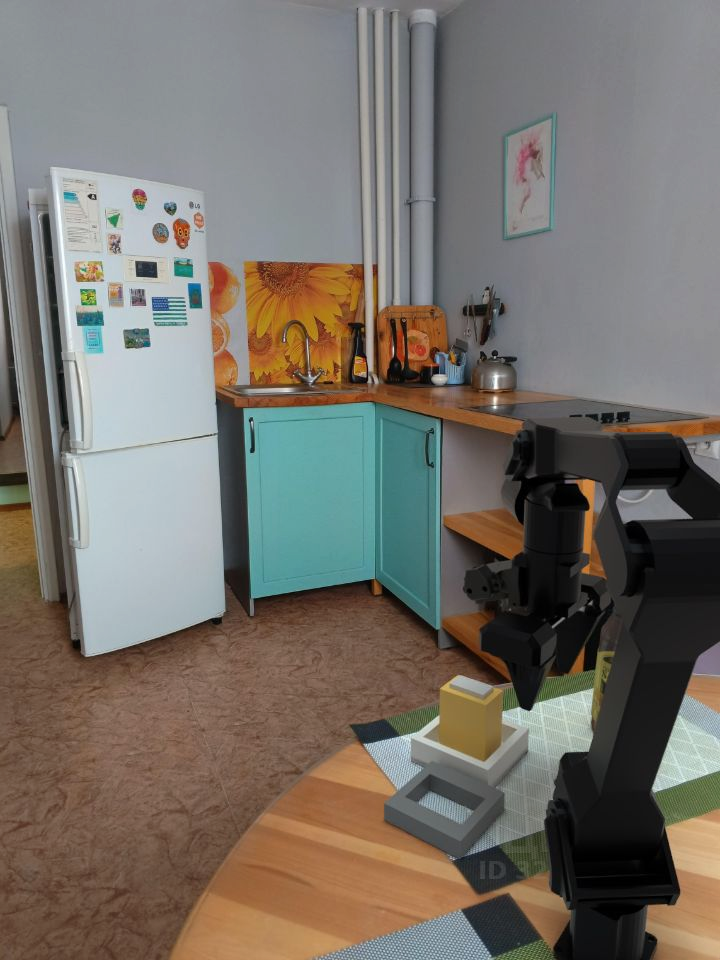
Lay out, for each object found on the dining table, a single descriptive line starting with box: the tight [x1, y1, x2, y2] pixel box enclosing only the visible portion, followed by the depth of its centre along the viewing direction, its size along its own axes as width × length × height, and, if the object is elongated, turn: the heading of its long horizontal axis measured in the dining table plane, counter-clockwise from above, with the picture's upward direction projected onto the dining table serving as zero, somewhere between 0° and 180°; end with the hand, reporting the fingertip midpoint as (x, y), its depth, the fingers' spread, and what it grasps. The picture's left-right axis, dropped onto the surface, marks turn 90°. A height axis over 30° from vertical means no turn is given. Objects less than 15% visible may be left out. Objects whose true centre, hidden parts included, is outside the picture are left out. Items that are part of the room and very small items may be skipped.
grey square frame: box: [383, 761, 506, 860], centre depth 74 cm, size 9×9×2 cm
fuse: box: [438, 674, 504, 762], centre depth 83 cm, size 4×6×9 cm, turn 52°
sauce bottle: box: [590, 603, 622, 731], centre depth 87 cm, size 7×6×20 cm
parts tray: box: [410, 715, 530, 788], centre depth 84 cm, size 10×10×3 cm
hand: (545, 690), depth 73 cm, fingers open, 9 cm apart
